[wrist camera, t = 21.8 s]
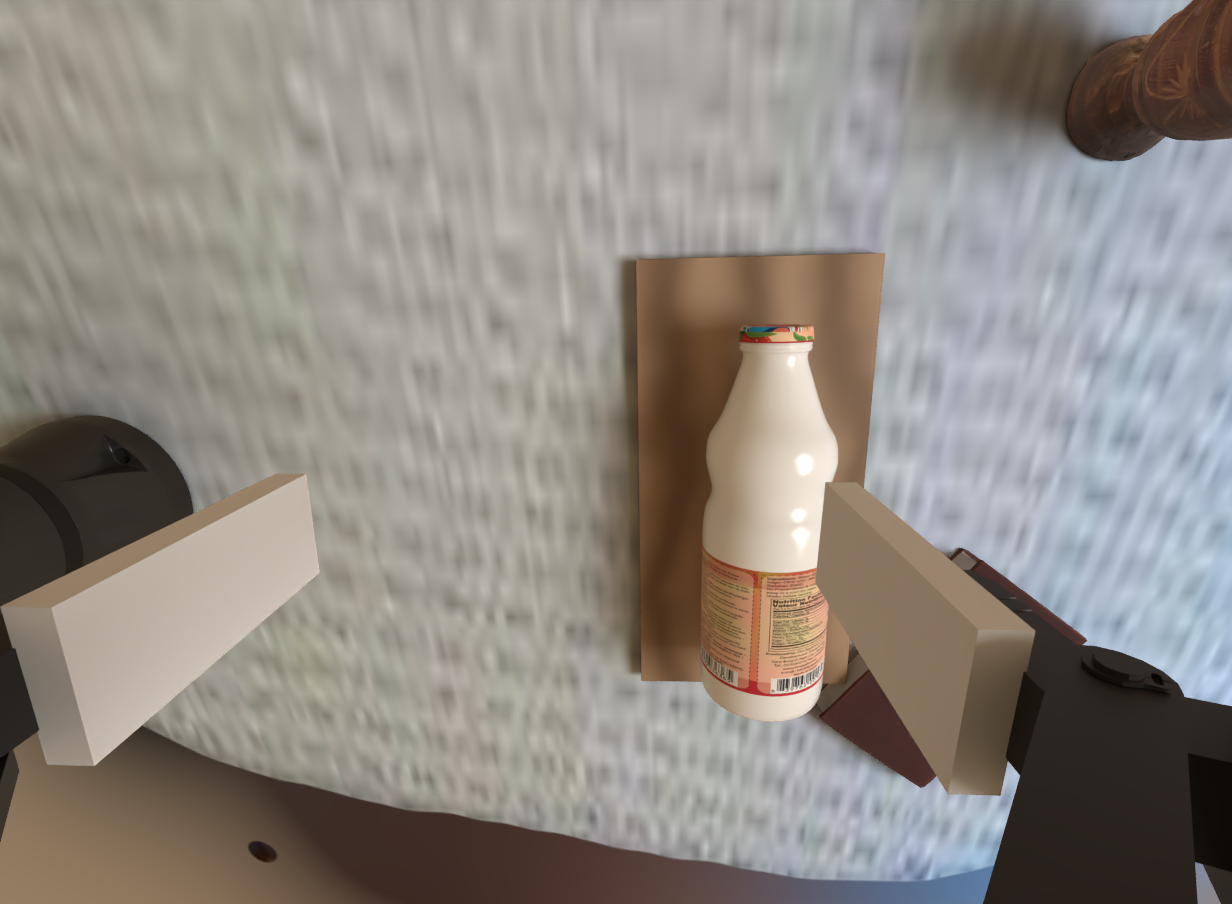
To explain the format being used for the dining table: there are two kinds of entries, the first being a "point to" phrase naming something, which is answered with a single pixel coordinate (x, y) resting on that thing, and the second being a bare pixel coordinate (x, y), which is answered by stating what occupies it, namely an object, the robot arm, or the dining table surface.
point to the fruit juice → (766, 532)
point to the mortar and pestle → (1157, 86)
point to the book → (872, 716)
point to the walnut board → (696, 396)
